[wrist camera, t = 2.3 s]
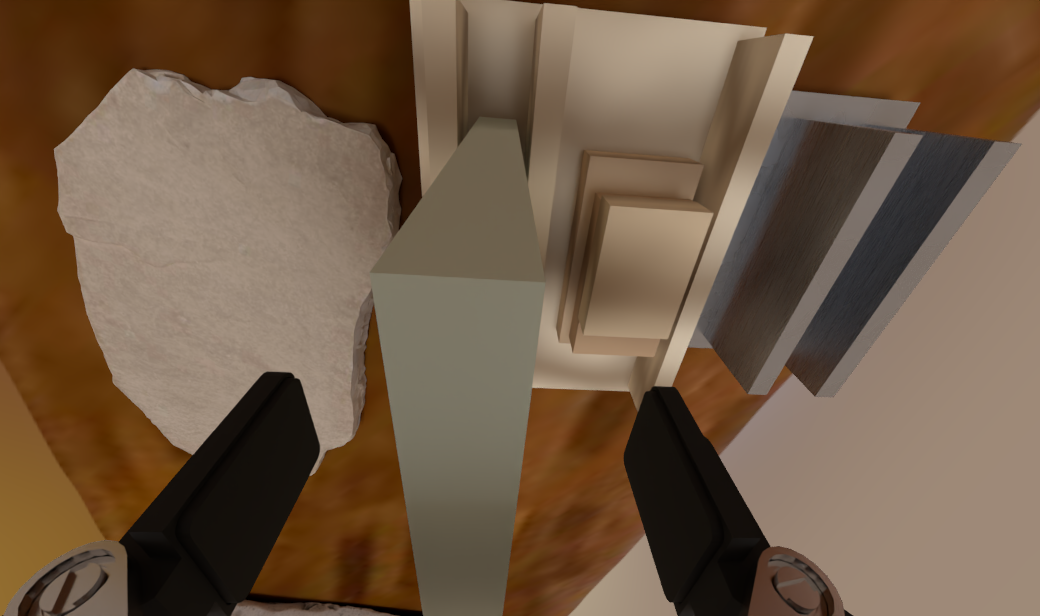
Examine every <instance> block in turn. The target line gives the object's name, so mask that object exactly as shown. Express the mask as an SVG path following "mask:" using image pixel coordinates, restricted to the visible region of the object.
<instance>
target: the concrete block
mask: <svg viewBox="0 0 1040 616" xmlns="http://www.w3.org/2000/svg"><path fill="white" fill-rule="evenodd" d="M231 616H397V615H391V614H389V613H382V612H378V611H374V610H372V609H371V608H370V609H368V608H360V607H353V606H349V605H347V606H339V605H334V604H331V603H326V604H321V603H316V602H305V603H302V602H297V603H276V602H274V603H271V602H256V601H251V600H244V601H242V602H241V603H237V605H236V607H235V609H234V611H233V613H232V614H231ZM399 616H400V615H399Z"/></svg>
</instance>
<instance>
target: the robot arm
mask: <svg viewBox="0 0 1040 616" xmlns="http://www.w3.org/2000/svg"><path fill="white" fill-rule="evenodd" d="M319 454H320V443H319V440H318V436H317V433H316V430H315V427H314V423H313V420H312V417H311V413H310V410H309V407H308V404H307V400H306V397H305V394H304V390H303V387H302V384H301V381H300V379H298V378H295V377H294V375H293V374H292V373H291V372H269V371H267V372H265V373H263V374H262V375H261V376H260V377H259V378H258V380H257V381H256V382H255V383H254V384H253V385H252V387H251V388H250V389H249V390H248V391H247V393H246V394H245V395H244V396H243V397H242V398H241V400H240V401H239V402H238V403H237V404H236V405H235V407H234V408H233V409H232V410H231V411H230V412H229V414H228V415H227V416H226V417H225V418H224V419H223V421H222V422H221V423H220V424H219V425H218V426H217V428H216V429H215V430H214V431H213V432H212V433H211V434H210V436H209V437H208V438H207V439H206V440H205V441H204V443H203V444H202V445H201V446H200V447H199V448H198V450H197V451H196V452H195V453H194V454H193V455H192V457H191V458H190V459H189V460H188V461H187V462H186V464H185V465H184V466H183V467H182V468H181V470H180V471H179V472H178V473H177V474H176V475H175V477H174V478H173V479H172V480H171V481H170V482H169V484H168V485H167V486H166V487H165V488H164V489H163V491H162V492H161V493H160V494H159V495H158V496H157V498H156V499H155V500H154V501H153V502H152V503H151V505H150V506H149V507H148V508H147V509H146V510H145V512H144V513H143V514H142V515H141V516H140V517H139V519H138V520H137V521H136V522H135V523H134V525H133V526H132V527H131V528H130V529H129V530H128V532H127V533H126V534H125V535H124V536H123V537H122V539H121V540H120V541H119V542H117V541H107V540H104V541H98V542H93V543H89V544H86V545H83V546H81V547H78V548H76V549H73V550H71V551H69V552H67V553H66V554H64V555H62V556H60V557H58V558H57V559H55V560H53V561H52V562H50V563H49V564H48V565H46V566H45V567H44V568H42V569H41V570H39V571H38V572H37V573H35V574H34V575H33V576H32V577H31V578H30V579H29V580H28V581H27V582H26V583H25V584H24V585H23V586H22V587H21V588H20V589H19V591H18V592H17V593H16V594H15V596H14V597H13V598H12V600H11V601H10V602H9V604H8V606H7V609H6V611H5V613H4V615H3V616H231V614H232V613H233V611H234V609H235V607H236V605H237V603H241V602H242V601H244V600H245V599H246V597H247V596H248V594H249V593H250V591H251V589H252V587H253V585H254V583H255V581H256V579H257V577H258V575H259V573H260V571H261V569H262V567H263V565H264V564H265V562H266V560H267V558H268V556H269V554H270V552H271V550H272V548H273V546H274V544H275V542H276V540H277V538H278V536H279V534H280V532H281V530H282V528H283V526H284V524H285V522H286V520H287V518H288V516H289V514H290V512H291V511H292V509H293V507H294V505H295V503H296V501H297V499H298V497H299V495H300V493H301V491H302V489H303V487H304V485H305V483H306V481H307V479H308V477H309V475H310V473H311V471H312V469H313V467H314V465H315V463H316V461H317V459H318V457H319ZM624 465H625V468H626V472H627V475H628V478H629V481H630V485H631V488H632V491H633V494H634V497H635V501H636V504H637V507H638V510H639V514H640V517H641V520H642V523H643V527H644V530H645V533H646V536H647V539H648V543H649V546H650V549H651V552H652V555H653V559H654V562H655V565H656V568H657V572H658V575H659V578H660V581H661V585H662V588H663V591H664V594H665V596H666V598H667V600H668V601H669V602H673V603H674V605H675V609H676V612H677V615H678V616H853V615H851V614H850V613H848V612H847V611H846V610H844V608H843V602H842V600H841V598H840V596H839V594H838V591H837V589H836V588H835V586H834V585H833V584H832V582H831V581H830V579H829V578H828V577H827V575H825V573H824V572H823V571H822V570H821V569H820V568H819V567H818V566H817V565H816V564H814V563H813V562H812V561H810V560H809V559H808V558H806V557H805V556H804V555H802V554H800V553H797V552H796V551H794V550H792V549H788V548H784V547H780V546H777V547H770V545H769V543H768V541H767V540H766V538H765V536H764V535H763V533H762V531H761V529H760V528H759V526H758V524H757V522H756V521H755V519H754V517H753V515H752V514H751V512H750V510H749V508H748V507H747V505H746V503H745V502H744V500H743V498H742V496H741V494H740V493H739V491H738V489H737V487H736V486H735V484H734V482H733V480H732V479H731V477H730V475H729V473H728V472H727V470H726V468H725V466H724V465H723V463H722V461H721V459H720V458H719V456H718V454H717V452H716V451H715V449H714V447H713V445H712V444H711V443H710V441H709V440H708V439H707V438H706V437H704V436H703V434H702V433H701V431H700V429H699V427H698V425H697V424H696V422H695V420H694V418H693V417H692V415H691V413H690V411H689V409H688V408H687V406H686V404H685V402H684V401H683V399H682V397H681V395H680V393H679V392H678V390H677V389H676V388H675V387H665V386H653V387H652V388H651V390H650V391H646V392H645V394H644V396H643V399H642V402H641V405H640V408H639V411H638V414H637V417H636V420H635V423H634V425H633V428H632V431H631V434H630V437H629V440H628V443H627V446H626V449H625V452H624Z"/></svg>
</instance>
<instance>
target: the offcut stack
mask: <svg viewBox="0 0 1040 616" xmlns="http://www.w3.org/2000/svg"><path fill="white" fill-rule="evenodd" d="M703 167H704V165H703V164H701V163H699V162H697V161H694V160H692V159H690V158H679V157H667V156H654V155H642V154H629V153H617V152H604V151H592V150H584V155H583V161H582V167H581V173H580V180H579V186H578V192H577V199H576V205H575V211H574V217H573V224H572V230H571V236H570V243H569V249H568V255H567V261H566V268H565V274H564V280H563V287H562V293H561V299H560V305H559V312H558V318H557V324H556V331H557V336H558V341H559V343H568V344H571V348H572V352H573V354H596V355H619V356H642V357H654V356H655V353H656V350H657V347H658V344H659V341H660V339H668V337H669V334H670V332H671V329H672V326H673V323H674V321H675V318H676V315H677V312H678V310H679V307H680V304H681V302H682V299H683V296H684V293H685V291H686V288H687V285H688V282H689V280H690V277H691V274H692V271H693V269H694V266H695V263H696V260H697V258H698V255H699V252H700V249H701V247H702V244H703V241H704V238H705V236H706V233H707V230H708V228H709V225H710V222H711V219H712V217H713V214H714V213H713V212H711V211H710V210H708V209H707V208H705V207H704V206H702V205H701V204H699V203H698V202H694V201H693V198H694V195H695V192H696V189H697V185H698V182H699V179H700V176H701V173H702V170H703Z"/></svg>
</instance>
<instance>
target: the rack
mask: <svg viewBox="0 0 1040 616" xmlns="http://www.w3.org/2000/svg"><path fill="white" fill-rule="evenodd" d="M409 1H410V16H411V32H412V48H413V63H414V79H415V94H416V110H417V126H418V141H419V157H420V173H421V188H422V197H423V196H424V195H425V193H426V192H427V190H428V189H429V187H430V186H431V185H432V183H433V182H434V180H435V179H436V178H437V176H438V175H439V173H440V172H441V170H442V169H443V168H444V166H445V165H446V163H447V162H448V161H449V159H450V158H451V156H452V155H453V153H454V152H455V151H456V149H457V148H458V146H459V145H460V144H461V142H462V141H463V139H464V138H465V136H466V135H467V134H468V132H469V131H470V129H471V128H472V127H473V125H474V124H475V122H476V121H477V119H478V118H479V117H490V118H502V119H514V120H516V122H517V127H518V133H519V138H520V144H521V149H522V155H523V160H524V166H525V171H526V177H527V182H528V188H529V193H530V199H531V204H532V210H533V215H534V221H535V226H536V232H537V238H538V243H539V249H540V254H541V260H542V265H543V271H544V276H545V282H546V284H545V291H544V299H543V307H542V314H541V322H540V330H539V337H538V345H537V353H536V360H535V368H534V376H533V383H532V388H556V389H583V390H610V391H630V393H631V396H632V398H633V401H634V403H635V406H636V409H637V411H639V408H640V405H641V402H642V399H643V396H644V394H645V392H646V391H650V390H651V388H652V387H653V386H665V387H671V386H672V384H673V381H674V379H675V377H676V374H677V372H678V369H679V367H680V364H681V362H682V359H683V357H684V354H685V352H686V349H687V347H688V345H689V342H690V340H691V337H692V335H693V332H694V330H695V327H696V325H697V322H698V320H699V318H700V315H701V313H702V310H703V308H704V305H705V303H706V300H707V298H708V295H709V293H710V290H711V288H712V286H713V283H714V281H715V278H716V276H717V273H718V271H719V268H720V266H721V263H722V261H723V258H724V256H725V254H726V251H727V249H728V246H729V244H730V241H731V239H732V236H733V234H734V231H735V229H736V226H737V224H738V222H739V219H740V217H741V214H742V212H743V209H744V207H745V204H746V202H747V199H748V197H749V194H750V192H751V190H752V187H753V185H754V182H755V180H756V177H757V175H758V172H759V170H760V167H761V165H762V162H763V160H764V158H765V155H766V153H767V150H768V148H769V145H770V143H771V140H772V138H773V135H774V133H775V131H776V128H777V126H778V123H779V121H780V118H781V116H782V113H783V111H784V108H785V106H786V103H787V101H788V99H789V96H790V94H791V91H792V89H793V86H794V84H795V81H796V79H797V76H798V74H799V71H800V69H801V67H802V64H803V62H804V59H805V57H806V54H807V52H808V49H809V47H810V44H811V42H812V39H813V36H804V35H794V34H779V35H773V36H766V37H764V35H765V32H766V29H767V28H764V27H754V26H745V25H735V24H726V23H716V22H707V21H697V20H688V19H678V18H669V17H659V16H650V15H640V14H631V13H621V12H612V11H602V10H593V9H583V8H577V6H569V5H560V4H550V3H544V4H536V3H526V2H517V1H507V0H409ZM584 150H592V151H604V152H617V153H629V154H642V155H654V156H667V157H679V158H690V159H692V160H694V161H697V162H699V163H701V164H703V165H704V167H703V170H702V173H701V176H700V179H699V182H698V185H697V189H696V192H695V195H694V198H693V201H694V202H698V203H699V204H701V205H702V206H704V207H705V208H707V209H708V210H710V211H711V212H713V213H714V214H713V217H712V219H711V222H710V225H709V228H708V230H707V233H706V236H705V238H704V241H703V244H702V247H701V249H700V252H699V255H698V258H697V260H696V263H695V266H694V269H693V271H692V274H691V277H690V280H689V282H688V285H687V288H686V291H685V293H684V296H683V299H682V302H681V304H680V307H679V310H678V312H677V315H676V318H675V321H674V323H673V326H672V329H671V332H670V334H669V337H668V339H660V341H659V344H658V347H657V350H656V353H655V356H654V357H642V356H619V355H596V354H573V352H572V348H571V344H568V343H559V341H558V336H557V331H556V324H557V318H558V312H559V305H560V299H561V293H562V287H563V280H564V274H565V268H566V261H567V255H568V249H569V243H570V236H571V230H572V224H573V217H574V211H575V205H576V199H577V192H578V186H579V180H580V173H581V167H582V161H583V155H584Z"/></svg>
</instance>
